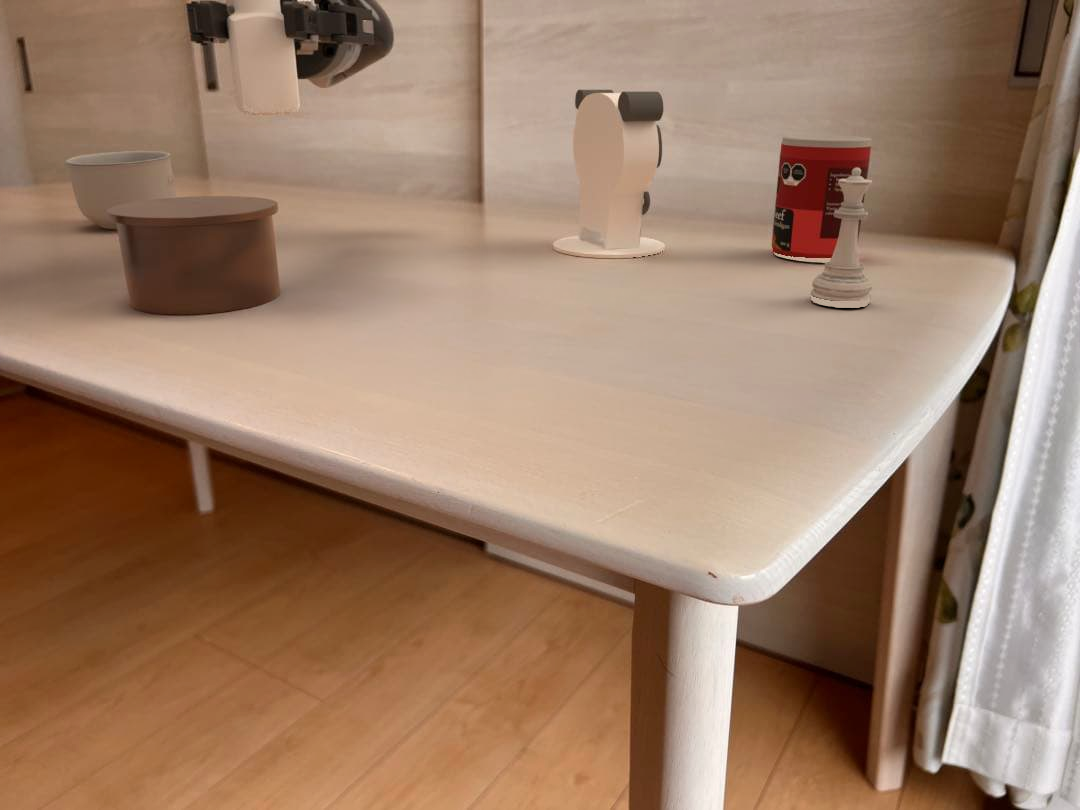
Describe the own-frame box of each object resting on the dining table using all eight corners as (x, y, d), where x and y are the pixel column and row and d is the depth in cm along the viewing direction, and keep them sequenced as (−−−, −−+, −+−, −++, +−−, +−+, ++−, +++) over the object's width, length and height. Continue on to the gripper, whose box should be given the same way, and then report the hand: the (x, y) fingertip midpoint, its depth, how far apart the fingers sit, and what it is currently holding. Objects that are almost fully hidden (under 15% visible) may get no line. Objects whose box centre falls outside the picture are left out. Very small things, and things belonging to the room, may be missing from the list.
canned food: (776, 246, 88) (787, 134, 84) (858, 252, 85) (874, 136, 81) (764, 260, 81) (776, 138, 77) (853, 266, 78) (870, 141, 74)
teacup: (196, 225, 100) (186, 154, 97) (99, 237, 92) (86, 159, 89) (145, 213, 109) (135, 147, 106) (53, 223, 101) (39, 152, 98)
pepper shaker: (236, 113, 62) (218, -35, 58) (293, 112, 63) (279, -32, 60) (242, 115, 58) (224, -42, 55) (302, 114, 60) (288, -38, 56)
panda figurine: (690, 254, 84) (700, 90, 78) (585, 263, 80) (588, 91, 74) (631, 235, 94) (637, 89, 89) (535, 242, 90) (535, 89, 85)
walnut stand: (167, 326, 59) (151, 223, 56) (96, 297, 67) (79, 206, 64) (316, 296, 67) (308, 205, 65) (238, 274, 75) (228, 192, 72)
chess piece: (799, 303, 65) (815, 167, 62) (824, 293, 68) (840, 163, 65) (856, 312, 63) (875, 171, 59) (878, 302, 66) (898, 167, 62)
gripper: (212, -20, 70) (126, -47, 54) (388, -18, 71) (354, -45, 55) (224, 78, 73) (145, 79, 57) (393, 79, 73) (362, 80, 58)
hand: (248, 18), depth 56 cm, fingers closed on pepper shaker, 4 cm apart
